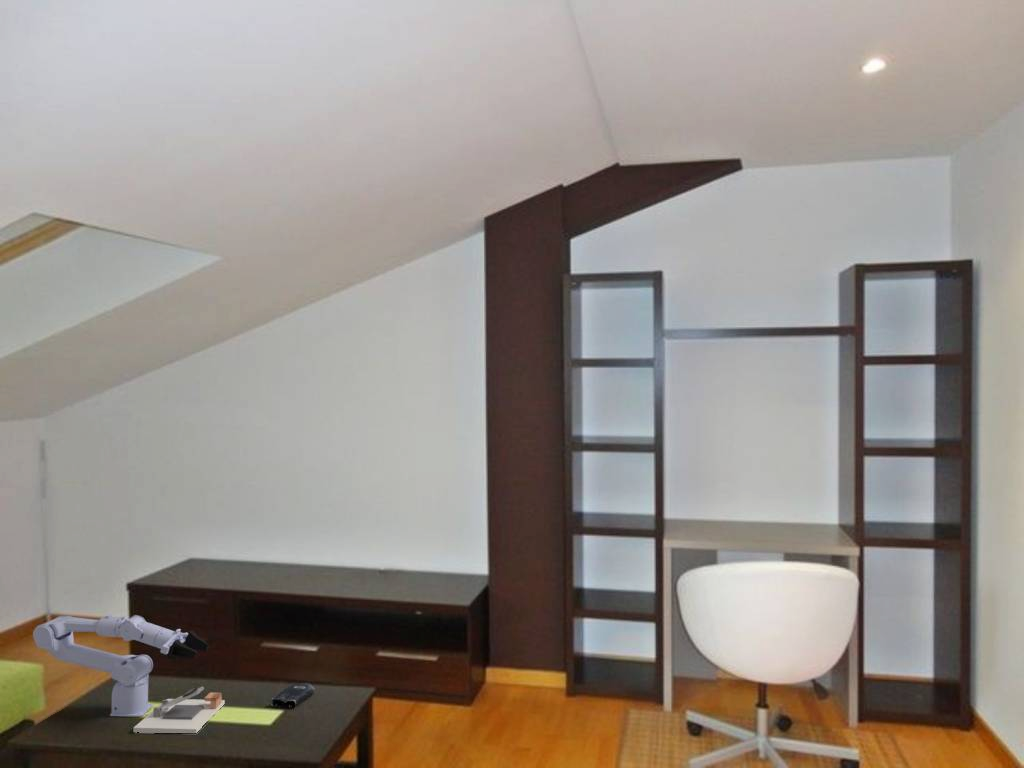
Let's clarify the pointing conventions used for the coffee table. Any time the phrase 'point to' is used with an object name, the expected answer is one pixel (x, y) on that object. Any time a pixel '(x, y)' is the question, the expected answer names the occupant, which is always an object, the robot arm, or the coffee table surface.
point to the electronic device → (293, 694)
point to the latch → (214, 699)
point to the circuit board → (178, 717)
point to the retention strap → (181, 698)
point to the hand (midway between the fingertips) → (201, 651)
